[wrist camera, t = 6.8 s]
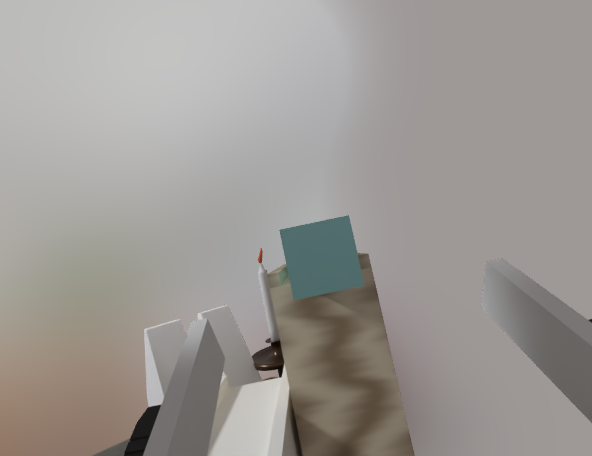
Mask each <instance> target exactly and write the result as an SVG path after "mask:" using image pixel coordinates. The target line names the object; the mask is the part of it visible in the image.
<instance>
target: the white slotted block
mask: <svg viewBox="0 0 592 456" xmlns="http://www.w3.org/2000/svg"><path fill="white" fill-rule="evenodd" d="M206 318H208V320H209V322H210V325H211V327H212V329H213V332H214V334H215V336H216V338H217V341H218V343H219V345H220V347H221V350H222V352H223V354H224V356H225V363H224V368H223V373H222V376H225V375H227V378H228V384H229V388H232V387H237V386H242V385H246V384H251V383H256V382H261V381H262V379H261V377H260V374H259V372H258V370H256V369H255V367H254V364H253V363H254V361H253V359H252V357H251V354H250V352H249V350H248V348H247V345H246V343H245V341H244V339H243V336H242V334H241V332H240V330H239V328H238V325H237V323H236V321H235V319H234V316H233V314H232V312H231V309H230V307H229V306H228V305H224V306H221V307H218V308H214V309H211V310H208V311H204V312H201V313H198V320H201V319H206ZM144 337H145V362H146V386H147V399H148V405H149V407H151V406H156V405H161V404H162V402H163V399H164V396H165V393H166V391H167V388H168V385H169V382H170V380H171V377H172V374H173V371H174V369H175V366H176V363H177V360H178V358H179V355H180V352H181V349H182V347H183V344H184V341H185V338H186V334H185V332H184V328H183V325H182V323H181V320H179V319H177V320H174V321H170V322H167V323H164V324H160V325H157V326H153V327H150V328H147V329H144Z"/></svg>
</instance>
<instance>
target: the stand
mask: <svg viewBox="0 0 592 456" xmlns="http://www.w3.org/2000/svg"><path fill="white" fill-rule="evenodd" d="M357 254H358V258H359V263H360V267H361V272H362V276H363V281H364V285H365V286H361V287H356V288H351V289H346V290H341V291H337V292H332V293H327V294H322V295H317V296H312V297H307V298H303V299H298V300H294V298H293V294H292V289H291V284H290V279H289V274H288V269H287V264H285V265H282V266H280V267H279V268H277V269H276V270H274V271H272V272H271V273H269V274H267V277H268V282H269V287H270V292H271V297H272V302H273V307H274V312H275V317H276V322H277V327H278V333H279V338H280V343H281V348H282V353H283V358H284V363H285V368H286V373H287V378H288V383H289V388H290V394H291V399H292V404H293V409H294V414H295V419H296V424H297V429H298V434H299V439H300V444H301V449H302V455H303V456H414V451H413V447H412V443H411V438H410V434H409V430H408V425H407V421H406V416H405V412H404V408H403V403H402V399H401V395H400V390H399V386H398V381H397V377H396V373H395V368H394V364H393V360H392V356H391V351H390V346H389V342H388V338H387V333H386V329H385V325H384V321H383V316H382V312H381V307H380V303H379V299H378V294H377V290H376V285H375V281H374V277H373V272H372V268H371V264H370V259H369V255H368V254H360V253H357Z"/></svg>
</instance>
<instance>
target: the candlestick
mask: <svg viewBox="0 0 592 456" xmlns="http://www.w3.org/2000/svg"><path fill="white" fill-rule="evenodd" d="M258 261H259V263H261V262H262V249H261V251H260V253H259V258H258ZM258 277H259V282H260V287H261V292H262V297H263V302H264V308H265V312H266V318H267V323H268V328H269V333H270V338H269V339H267V340H266V342H267V343H271V346H269V347H267V348H265V349H262V350H260V351H259V352H257V353H255V354H254V355H253V356H252V359H253V361H254V363H253V364H254V367H255V369H256V370H260V371H268V370H275V369H278V373H279V378H281V377H282V373H283V368H284V358H283V353H282V348H281V343H280V338H279V333H278V327H277V322H276V317H275V312H274V307H273V302H272V297H271V292H270V287H269V282H268V277H267V270H265V269H264V268H263V265H262V264H260V269H259V272H258Z"/></svg>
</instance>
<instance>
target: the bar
mask: <svg viewBox="0 0 592 456" xmlns="http://www.w3.org/2000/svg"><path fill="white" fill-rule="evenodd" d="M280 235H281V239H282V244H283V249H284V254H285V259H286V264H287V269H288V274H289V279H290V284H291V289H292V294H293V298H294V300H298V299H303V298H307V297H312V296H317V295H322V294H327V293H332V292H337V291H341V290H346V289H351V288H356V287H361V286H365V285H364V281H363V276H362V272H361V267H360V263H359V258H358V254H357V250H356V245H355V241H354V236H353V232H352V227H351V224H350V219H349V216H344V217H339V218H334V219H329V220H325V221H320V222H315V223H310V224H305V225H301V226H296V227H291V228H286V229H282V230H280Z"/></svg>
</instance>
